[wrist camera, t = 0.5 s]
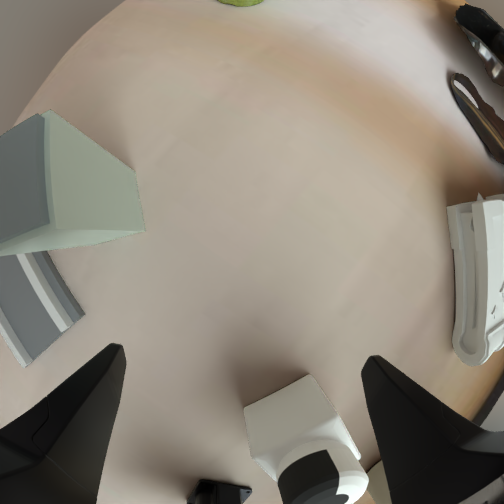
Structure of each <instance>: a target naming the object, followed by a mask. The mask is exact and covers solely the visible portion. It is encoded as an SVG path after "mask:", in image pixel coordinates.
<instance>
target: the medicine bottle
mask: <svg viewBox="0 0 504 504" xmlns="http://www.w3.org/2000/svg"><path fill="white" fill-rule="evenodd" d="M244 417H245V423H246V429H247V435H248V441H249V447H250V453H251V457H252V459H253V460H254V461H255V462H256V463H257V464H258V465H259V466H260V467H261V468H262V469H263V470H264V471H265V472H266V473H267V474H268V475H269V476H270V477H271V478H272V479H273V480H275V481H276V482H277V483H278V487H279V490H280V494H281V498H282V501H283V504H353V503H354V502H355V501H357V500H358V499H359V498H360V497H361V496H362V495H363V493H364V492H365V490H366V488H367V485H368V482H369V478H368V476H367V474H366V473H365V471H364V469H363V468H362V466H361V465H360V463H359V462H358V460H359V459H360V458H361V454H360V452H359V451H358V449H357V447H356V445H355V443H354V441H353V440H352V438H351V436H350V434H349V432H348V430H347V429H346V427H345V425H344V423H343V421H342V419H341V418H340V416H339V414H338V413H337V411H336V410H335V408H334V407H333V405H332V404H331V402H330V401H329V399H328V398H327V396H326V395H325V393H324V392H323V391H322V389H321V388H320V386H319V385H318V383H317V382H316V380H315V379H314V377H313V376H312V375H310V374H308V375H306V376H304V377H303V378H301V379H299V380H297V381H295V382H294V383H292V384H290V385H288V386H286V387H284V388H282V389H281V390H279V391H277V392H275V393H273V394H271V395H269V396H267V397H265V398H263V399H261V400H259V401H257V402H255V403H252V404H250V405H248V406H246V407H245V408H244Z"/></svg>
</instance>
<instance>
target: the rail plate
mask: <svg viewBox="0 0 504 504" xmlns="http://www.w3.org/2000/svg"><path fill="white" fill-rule="evenodd" d="M84 315H85V313H84V312H83V310H82V309H81V307H80V306H79V304H78V303H77V301H76V300H75V298H74V297H73V295H72V294H71V292H70V291H69V289H68V287H67V286H66V284H65V283H64V281H63V279H62V278H61V276H60V274H59V272H58V271H57V269H56V267H55V266H54V264H53V262H52V260H51V258H50V257H49V255H48V253H47V251H38V252H30V253H22V254H14V255H6V256H0V333H1V335H2V337H3V338H4V340H5V342H6V343H7V345H8V347H9V348H10V350H11V351H12V353H13V354H14V356H15V357H16V359H17V360H18V362H19V363H20V365H21V366H22V368H24V367H27V366H28V365H29V364H31V363H32V362H33V361H34V360H35V359H36V358H37V357H38V356H39V355H40V354H41V353H42V352H43V351H44V350H46V349H47V348H48V347H49V346H50V345H51V344H52V343H53V342H54V341H55V340H57V339H58V338H59V337H60V336H61V335H62V334H63V333H64V332H66V331H67V330H68V329H69V328H70V327H71V326H72V325H73V324H75V323H76V322H77V321H78V320H79V319H80V318H82V317H83V316H84Z"/></svg>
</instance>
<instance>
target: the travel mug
mask: <svg viewBox="0 0 504 504" xmlns="http://www.w3.org/2000/svg"><path fill="white" fill-rule="evenodd" d="M367 476H368V478H369V482H368V485H367V488H366V489H367V490H368V492H369V493H370V495H371V497H372V498H373V500H374V501H375V503H376V504H392V503H391V498H390V493H389V492H390V491H389V488H388V484H387V480H386V475H385V471H384V467H383V463H382V460H381V461H380V462H378V463H377V464H376V465H375V466H374V467H373V468H372V469H371V470H370V471H369V472H368V473H367Z"/></svg>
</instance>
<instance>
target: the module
mask: <svg viewBox="0 0 504 504" xmlns="http://www.w3.org/2000/svg"><path fill="white" fill-rule="evenodd" d="M145 231H146V229H145V225H144V219H143V214H142V209H141V203H140V198H139V192H138V186H137V180H136V173H135V171H134V170H132V169H131V168H130V167H128V166H127V165H125V164H124V163H123V162H121V161H120V160H119V159H117V158H116V157H115V156H113V155H112V154H110V153H109V152H108V151H106V150H105V149H104V148H102V147H101V146H100V145H98V144H97V143H96V142H94V141H93V140H91V139H90V138H89V137H87V136H86V135H85V134H83V133H82V132H81V131H79V130H78V129H77V128H75V127H74V126H72V125H71V124H70V123H68V122H67V121H66V120H64V119H63V118H62V117H60V116H59V115H58V114H56V113H55V112H54V111H52V110H51V109H50V110H48V111H47V112H45V113H43V114H41V115H39V114H38V113H37V114H35V115H34V116H32V117H30V118H28V119H27V120H25V121H23V122H22V123H20V124H18V125H17V126H15V127H13V128H12V129H10V130H9V131H7V132H6V133H4V134H3V135H1V136H0V256H6V255H14V254H22V253H30V252H38V251H47V250H56V249H65V248H74V247H83V246H93V245H96V244H100V243H104V242H107V241H111V240H114V239H118V238H122V237H126V236H129V235H133V234H137V233H141V232H145Z"/></svg>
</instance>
